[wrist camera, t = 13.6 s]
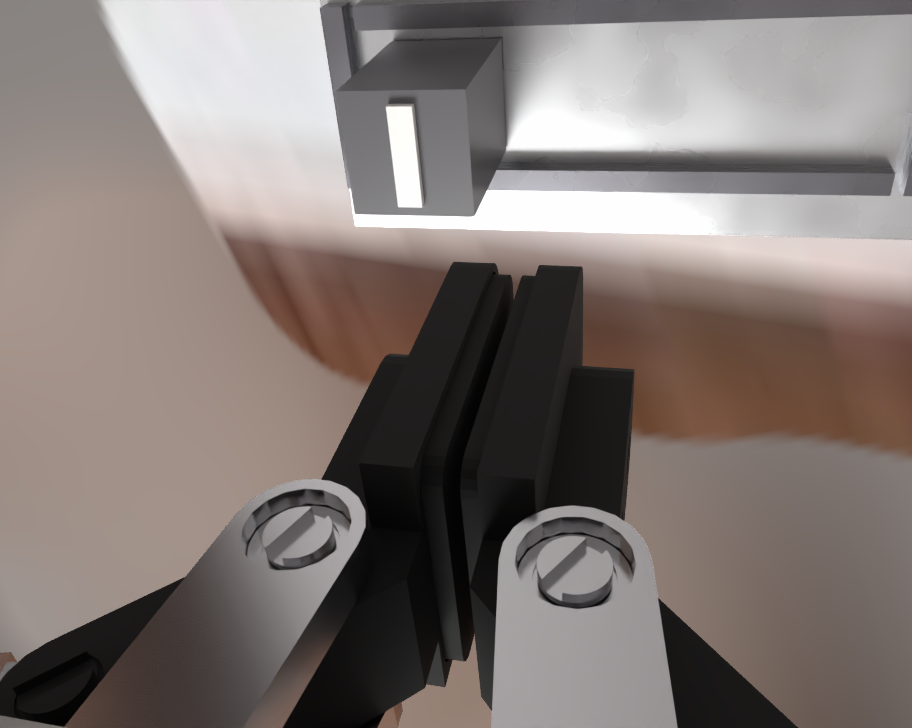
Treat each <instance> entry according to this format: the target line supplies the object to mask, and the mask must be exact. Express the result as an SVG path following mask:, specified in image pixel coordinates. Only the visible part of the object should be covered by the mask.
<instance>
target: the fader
mask: <svg viewBox="0 0 912 728" xmlns="http://www.w3.org/2000/svg"><path fill="white" fill-rule="evenodd" d="M336 95H337V102H338V108H339V115H340V121H341V128H342V134H343V141H344V147H345V154H346V160H347V167H348V173H349V180H350V186H351V193H352V199H353V206H354V212H355V214H359V215H405V216H452V217H475V215H476V213H477V211H478V208H479V206H480V204H481V202H482V200H483V198H484V196H485V194H486V192H487V189H488V187H489V185H490V183H491V181H492V179H493V177H494V175H495V173H496V170H497V168H498V166H499V164H500V162H501V160H502V158H503V156H504V154H505V152H506V133H505V110H504V87H503V64H502V41H501V38H496V39H458V40H421V41H391V42H390V43H389V44H388V45H387V46H386V47H384V48H383V49H382V50H381V51H380V52H379V53H378V54H377V55H376V56H374V57H373V58H372V59H371V60H370V61H369V62H368V63H367V64H365V65H364V66H363V67H362V68H361V69H360V70H359V71H358V72H357V73H355V74H354V75H353V76H352V77H351V78H350V79H349V80H348V81H347V82H345V83H344V84H343V85H342V86H341V87H340V88H339V89H338V90H337V91H336Z"/></svg>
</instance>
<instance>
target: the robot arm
mask: <svg viewBox="0 0 912 728" xmlns="http://www.w3.org/2000/svg"><path fill="white" fill-rule="evenodd" d="M582 355H583V269H582V267H576V266H550V265H539V267H538V270H537V273H536V276H522V278H521V280H520V283H519V286H518V290H517V293H516V296H515V299H514V301H513V283H512V277H511V275H499V274H498V269H497V266H496V264H495V263H469V262H453V264H452V265H451V267H450V269H449V271H448V273H447V275H446V277H445V279H444V282H443V284H442V286H441V288H440V290H439V292H438V294H437V297H436V299H435V301H434V303H433V305H432V307H431V309H430V311H429V314H428V316H427V318H426V320H425V322H424V324H423V326H422V328H421V331H420V333H419V335H418V337H417V339H416V341H415V343H414V345H413V348H412V350H411V352H410V354H409V355H401V354H389V355H387V356H385V358H384V359H383V361H382V362H381V364H380V366H379V368H378V370H377V372H376V373H375V375H374V377H373V379H372V381H371V383H370V385H369V387H368V389H367V391H366V393H365V395H364V397H363V399H362V401H361V403H360V405H359V407H358V409H357V411H356V413H355V415H354V417H353V419H352V421H351V423H350V424H349V427H348V428H347V430H346V432H345V434H344V436H343V438H342V440H341V442H340V444H339V446H338V448H337V450H336V452H335V454H334V456H333V458H332V460H331V462H330V464H329V466H328V468H327V470H326V472H325V474H324V475H323V477H322V479H321V480H316V479H306V480H298V481H290V482H287V483H284V484H281V485H279V486H275V487H272V488H270V489H268V490H266V491H264V492H263V493H261V494H259V495H258V496H256V497H254V498H253V499H251V500H250V501H249V502H248V503H247V504H246V505H245V506H244V507H243V508H242V509H241V510H240V511H238V513H237V514H236V515H235V516H234V517H233V519H232V520H231V521H230V522H229V524H228V525H227V526H226V527H225V529H224V530H223V531H222V532H221V533H220V535H219V536H218V537H217V538H216V540H215V541H214V542H213V543H212V545H211V546H210V547H209V548H208V549H207V551H206V552H205V553H204V554H203V556H202V557H201V558H200V559H199V561H198V562H197V563H196V564H195V566H194V567H193V568H192V570H190V572H189V573H188V574H187V576H186V577H184V578H182V579H180V580H178V581H176V582H174V583H172V584H170V585H167V586H165V587H163V588H161V589H159V590H157V591H155V592H153V593H150V594H148V595H146V596H144V597H142V598H140V599H138V600H136V601H134V602H131V603H129V604H127V605H125V606H123V607H121V608H119V609H117V610H115V611H113V612H110V613H108V614H106V615H104V616H102V617H100V618H98V619H96V620H94V621H91V622H89V623H87V624H85V625H83V626H81V627H79V628H77V629H75V630H73V631H70V632H68V633H66V634H64V635H62V636H60V637H58V638H56V639H54V640H51V641H50V642H48V643H46V644H44V645H43V646H41V647H39V648H38V649H36V650H34V651H33V652H31V653H29V654H28V655H26V656H25V657H24V658H23V659H21V660H20V661H19V662H17V661H16V659H15V657H14V656H13V654H12V653H11V652H4V653H0V728H398V726H399V722H400V719H401V715H402V712H403V707H402V701H404V700H406V699H407V698H409V697H411V696H412V695H414V694H416V693H417V692H419V691H421V690H422V689H424V688H425V686H426V684H428V685H435V686H441V687H445V686H446V682H447V678H448V674H449V671H450V667H451V663H452V660H459V661H466V660H467V658H468V656H469V653H470V649H471V645H472V641H473V637H474V633H475V641H476V651H477V660H478V670H479V679H480V689H481V697H482V698H483V700H484V701H485V702H486V703H487V705H488V706H489V708H490V709H491V710H492V724H491V728H798V727H797V726H795V725H794V724H793V723H792V722H791V721H790V720H789V719H788V718H787V717H786V716H785V715H784V714H783V713H782V712H780V711H779V710H778V709H777V708H776V707H775V706H774V705H773V704H772V703H771V702H770V701H769V700H767V699H766V698H765V697H764V696H763V695H762V694H761V693H760V692H759V691H758V690H757V689H755V688H754V687H753V686H752V685H751V684H750V683H749V682H748V681H747V680H746V679H745V678H744V677H743V676H742V675H741V674H739V673H738V672H737V671H736V670H735V669H734V668H733V667H732V666H731V665H730V664H729V663H728V662H727V661H725V660H724V659H723V658H722V657H721V656H720V655H719V654H718V653H717V652H716V651H715V650H714V649H713V648H711V647H710V646H709V645H708V644H707V643H706V642H705V641H704V640H703V639H702V638H701V637H699V635H697V634H696V633H695V632H694V631H693V630H692V629H691V628H690V627H689V626H688V625H687V624H686V623H684V622H683V621H682V620H681V619H680V618H679V617H678V616H677V615H676V614H675V613H674V612H673V611H671V610H670V609H669V608H668V607H667V606H666V605H665V604H664V603H663V602H662V601H661V600H660V599H658V595H657V588H656V582H655V575H654V568H653V562H652V558H651V555H650V553H649V550H648V547H647V544H646V542H645V541H644V540H643V538H642V537H641V536H640V535H639V534H638V532H637V531H636V530H635V529H634V528H633V527H632V526H631V525H629V524H628V523H626V522H625V521H624V519H625V507H626V497H627V485H628V472H629V460H630V446H631V430H632V412H633V393H634V369H619V368H604V367H588V366H582Z"/></svg>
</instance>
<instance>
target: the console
mask: <svg viewBox="0 0 912 728" xmlns="http://www.w3.org/2000/svg"><path fill="white" fill-rule="evenodd" d="M320 3H321V7H320V13H321V19H322V26H323V32H324V39H325V45H326V51H327V58H328V64H329V71H330V77H331V83H332V90H333V96H334V103H335V109H336V115H337V122H338V128H339V134H340V141H341V147H342V154H343V160H344V166H345V173H346V179H347V186H348V188H349V190H350V196H351V203H352V209H353V216H354V222H355V226H366V227H406V228H447V229H488V230H528V231H569V232H610V233H650V234H691V235H731V236H772V237H813V238H853V239H894V240H912V0H320ZM496 38H501V41H502V64H503V87H504V110H505V133H506V152H505V154H504V156H503V158H502V160H501V162H500V164H499V166H498V168H497V170H496V173H495V175H494V177H493V179H492V181H491V183H490V185H489V187H488V189H487V192H486V194H485V196H484V198H483V200H482V202H481V204H480V206H479V208H478V211H477V213H476V215H475V217H452V216H405V215H359V214H355V212H354V206H353V199H352V193H351V186H350V180H349V173H348V167H347V160H346V154H345V147H344V141H343V134H342V128H341V121H340V115H339V108H338V102H337V95H336V91H337V90H338V89H339V88H340V87H341V86H342V85H343V84H344V83H345V82H347V81H348V80H349V79H350V78H351V77H352V76H353V75H354V74H355V73H357V72H358V71H359V70H360V69H361V68H362V67H363V66H364V65H365V64H367V63H368V62H369V61H370V60H371V59H372V58H373V57H374V56H376V55H377V54H378V53H379V52H380V51H381V50H382V49H383V48H384V47H386V46H387V45H388V44H389V43H390V42H391V41H421V40H458V39H496Z"/></svg>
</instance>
